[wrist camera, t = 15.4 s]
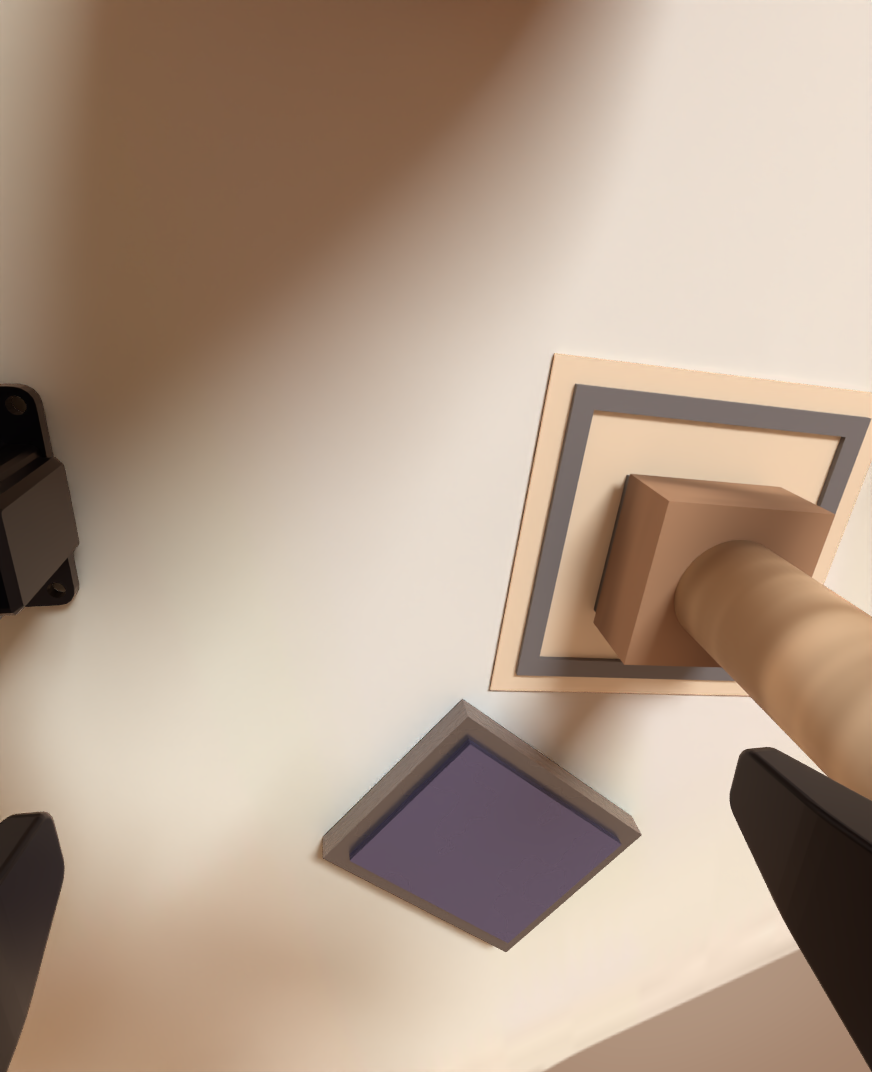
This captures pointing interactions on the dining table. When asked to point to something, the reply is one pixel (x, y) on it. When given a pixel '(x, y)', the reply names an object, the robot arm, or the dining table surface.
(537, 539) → the marked card
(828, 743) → the stamp
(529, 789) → the ink pad
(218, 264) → the dining table surface
